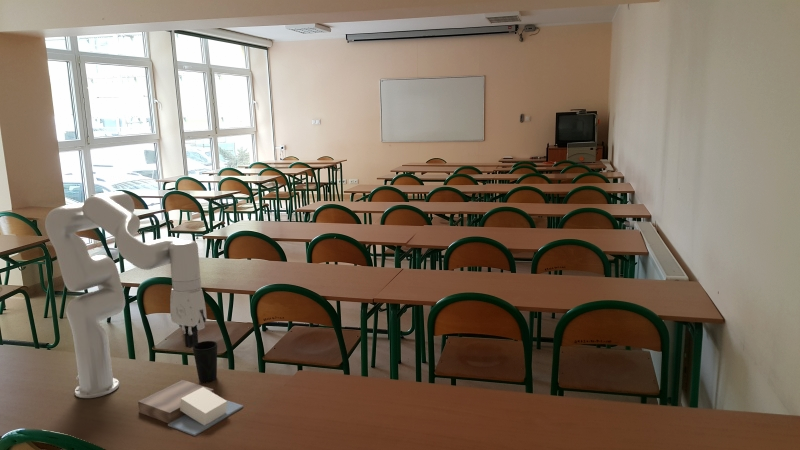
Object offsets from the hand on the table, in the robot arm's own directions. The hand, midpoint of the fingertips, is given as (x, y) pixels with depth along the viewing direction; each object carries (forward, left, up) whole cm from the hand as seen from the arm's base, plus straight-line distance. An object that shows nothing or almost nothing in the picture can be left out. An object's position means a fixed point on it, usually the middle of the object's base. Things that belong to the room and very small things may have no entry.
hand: (192, 345), depth 165 cm
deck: (-9, 0, -21) cm, 23 cm away
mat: (+4, 0, -21) cm, 21 cm away
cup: (-15, +17, -21) cm, 31 cm away
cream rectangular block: (+3, -1, -19) cm, 20 cm away
